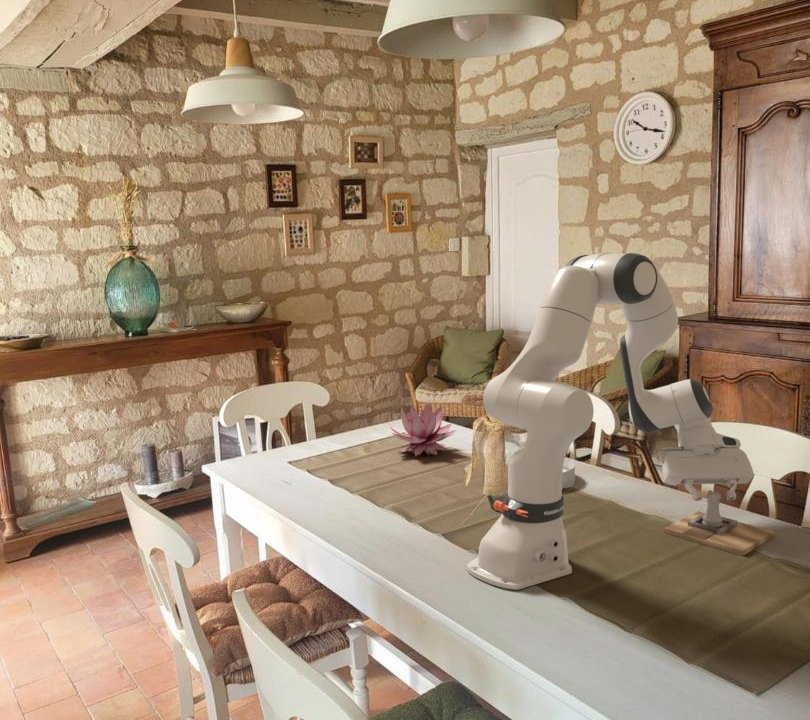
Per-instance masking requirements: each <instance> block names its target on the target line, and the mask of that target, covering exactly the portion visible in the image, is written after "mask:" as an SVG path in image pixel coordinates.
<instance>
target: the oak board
mask: <svg viewBox="0 0 810 720" xmlns="http://www.w3.org/2000/svg"><path fill="white" fill-rule="evenodd" d="M705 513H706V512H704V511H703V512H702V511H696V512H694V513H692V514H690V515H688V516H685V517H684V518H682V519H680V520H678V521H676V522H674V523H671V524H670V525H668V526H666V527H664V532H663V533H665V534H666V535H669V536H670V535H671V536H674V537H677V538H681V539H683V540H687V541H690V542H694V543H697V544H700V545H703V546H704V545H705V546H707V547H711V548H714V549H718V550H721V551H724V552H728V553H732V554H735V555H738V556H741V557H744V556H745V555H747V554H749V553H750V552H751V551H753V550H754V549H757V547H758V548H759V546H761V545H762V544H764V543H767V542H768V541H770V540H771V539H772V538H774V537H775V530H771V529H766V528H763V527H759V526H755V525H751V524H749V523H743V522H741V521H738V520H736V519H733V518H729V517H726V516H725V517H724V516H721V518H722V520H723V521H722V522H721V523H722V524H723V525H722V526H721V527H720V528H715V527H711V526H707V525H704V524H703V523H702V521H704V520H703V516H704V515H705Z"/></svg>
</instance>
